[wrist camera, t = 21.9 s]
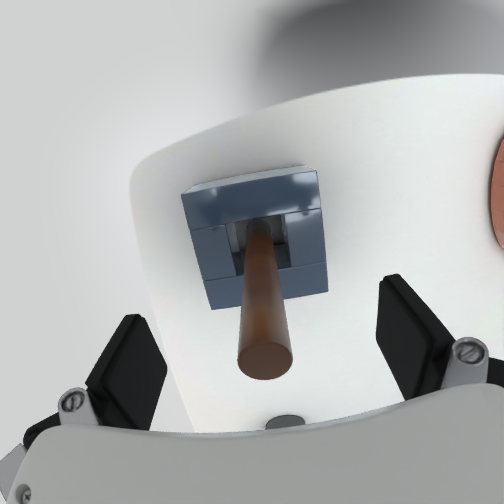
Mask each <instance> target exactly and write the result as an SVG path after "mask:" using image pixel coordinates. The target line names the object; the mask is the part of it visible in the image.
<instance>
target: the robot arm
mask: <svg viewBox="0 0 504 504" xmlns="http://www.w3.org/2000/svg"><path fill="white" fill-rule="evenodd" d="M376 341H377V344H378V346H379V347H380V349H381V351H382V353H383V355H384V357H385V359H386V361H387V363H388V366H389V368H390V370H391V372H392V374H393V376H394V378H395V380H396V382H397V384H398V386H399V389H400V391H401V393H402V395H403V397H404V399H405V401H404V402H401V403H397V404H394V405H391V406H387V407H383V408H380V409H376V410H372V411H369V412H365V413H361V414H357V415H353V416H348V417H344V418H339V419H334V420H329V421H324V422H319V423H313V424H307V425H300V426H294V427H286V428H278V429H269V430H259V431H246V432H226V433H176V432H158V431H149V429H150V426H151V422H152V419H153V415H154V412H155V409H156V406H157V402H158V399H159V396H160V393H161V390H162V386H163V383H164V380H165V377H166V374H167V365H166V362H165V360H164V358H163V356H162V354H161V352H160V350H159V348H158V346H157V344H156V342H155V339H154V337H153V335H152V333H151V331H150V328H149V326H148V324H147V322H146V320H145V318H143V317H141V315H139V314H130V315H126V316H125V317H124V318H123V320H122V321H121V323H120V324H119V326H118V328H117V329H116V331H115V333H114V334H113V336H112V337H111V339H110V341H109V343H108V344H107V346H106V347H105V349H104V351H103V352H102V354H101V356H100V357H99V359H98V361H97V363H96V364H95V366H94V368H93V369H92V371H91V373H90V375H89V377H88V378H87V380H86V382H85V384H86V385H87V386H88V388H87V390H85V389H83V388H73V389H70V390H68V391H67V392H65V393H64V394H63V395H62V396H61V398H60V399H59V402H58V412H57V413H56V414H54V415H52V416H50V417H48V418H46V419H44V420H42V421H40V422H39V423H37V424H35V425H33V426H31V427H30V428H28V429H27V431H26V433H25V435H24V438H23V444H24V445H22V444H21V443H20V444H19V445H18V446H16V447H15V448H14V449H13V450H12V451H11V452H10V453H9V454H7V455H6V456H5V457H4V458H3V459H2V460H1V461H0V491H1V493H2V495H3V497H4V499H5V501H6V504H504V361H503V360H499V359H495V358H490V357H489V352H488V349H487V347H486V345H485V344H484V343H483V342H482V341H480V340H478V339H476V338H473V337H464V338H460V339H458V340H457V341H456V340H455V339H454V338H453V336H452V335H451V334H450V333H449V331H448V330H447V329H446V328H445V326H444V325H443V324H442V323H441V321H440V320H439V319H438V318H437V317H436V315H435V314H434V313H433V312H432V311H431V309H430V308H429V307H428V306H427V305H426V304H425V303H424V302H423V300H422V299H421V298H420V297H419V296H418V295H417V294H416V292H415V291H414V290H413V289H412V288H411V287H410V286H409V285H408V283H407V282H406V281H405V280H404V279H403V278H402V277H401V276H400V275H399V274H393V275H388V276H385V277H384V278H383V280H382V281H380V283H379V300H378V315H377V326H376Z"/></svg>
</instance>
